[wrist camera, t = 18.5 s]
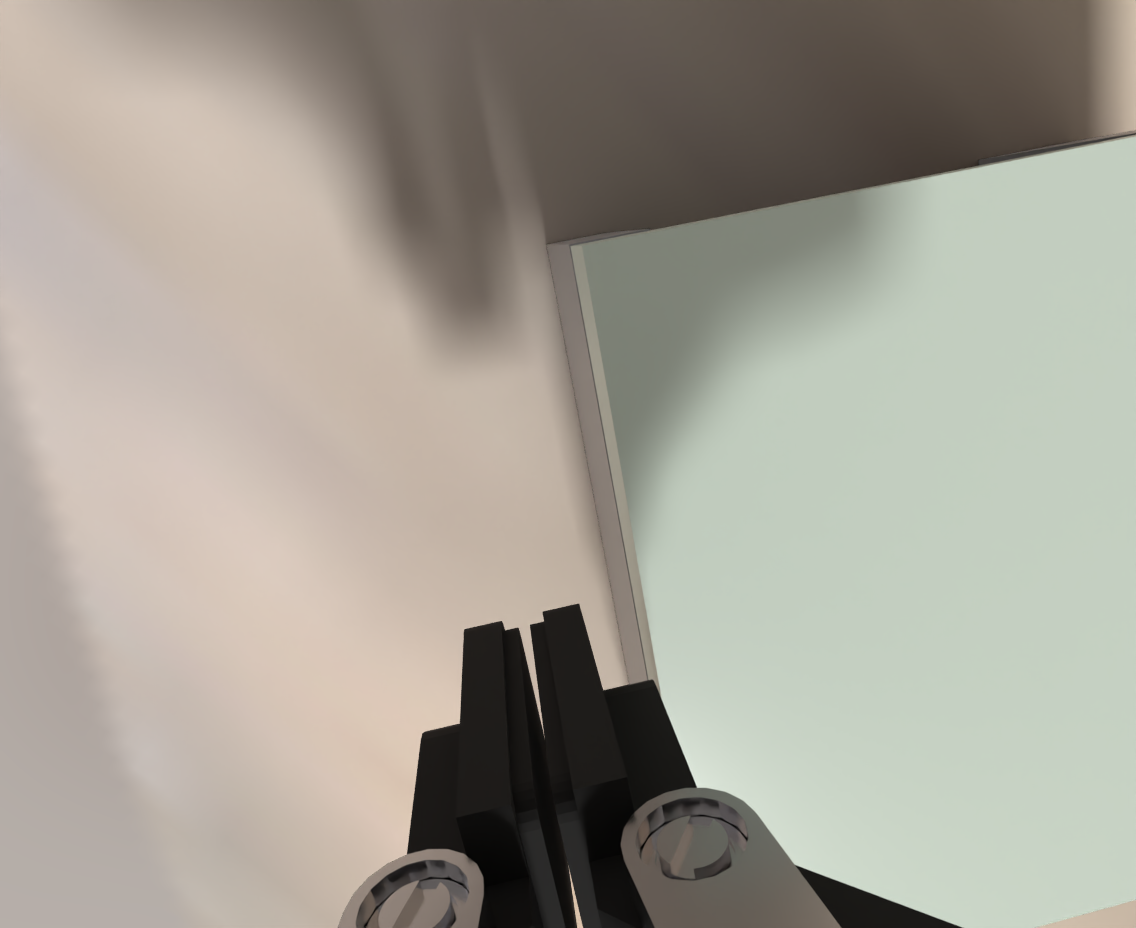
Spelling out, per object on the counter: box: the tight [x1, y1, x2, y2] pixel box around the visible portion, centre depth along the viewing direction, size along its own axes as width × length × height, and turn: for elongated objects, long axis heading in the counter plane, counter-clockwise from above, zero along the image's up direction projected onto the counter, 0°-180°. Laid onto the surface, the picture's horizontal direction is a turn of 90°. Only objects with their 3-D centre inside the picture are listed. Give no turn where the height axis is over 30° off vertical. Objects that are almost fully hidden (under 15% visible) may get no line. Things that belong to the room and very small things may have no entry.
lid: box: [570, 135, 1136, 928], centre depth 12 cm, size 12×11×1 cm
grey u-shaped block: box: [547, 130, 1136, 684], centre depth 15 cm, size 12×11×5 cm
